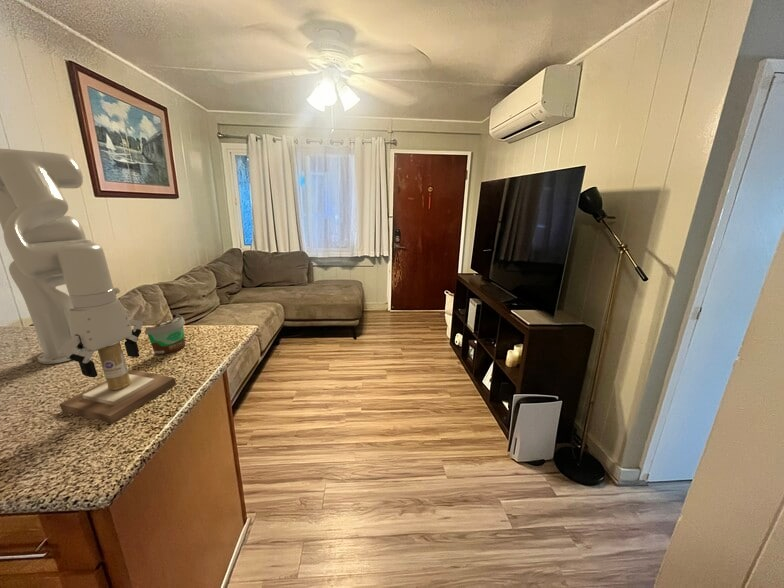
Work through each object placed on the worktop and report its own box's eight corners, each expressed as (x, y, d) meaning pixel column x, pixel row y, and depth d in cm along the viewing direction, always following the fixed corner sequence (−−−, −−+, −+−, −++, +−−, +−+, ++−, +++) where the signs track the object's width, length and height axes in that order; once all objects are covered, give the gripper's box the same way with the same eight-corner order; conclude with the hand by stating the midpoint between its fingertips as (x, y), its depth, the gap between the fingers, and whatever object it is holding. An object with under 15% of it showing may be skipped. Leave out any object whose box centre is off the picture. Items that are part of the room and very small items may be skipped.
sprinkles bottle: (106, 393, 78) (91, 341, 74) (110, 384, 81) (95, 334, 77) (130, 387, 80) (116, 337, 76) (133, 378, 84) (119, 330, 80)
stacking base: (62, 411, 76) (58, 400, 75) (131, 375, 91) (128, 366, 90) (112, 423, 72) (108, 412, 71) (176, 384, 86) (173, 374, 86)
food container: (167, 359, 99) (160, 329, 96) (151, 357, 101) (143, 327, 98) (198, 342, 111) (192, 314, 108) (183, 340, 112) (177, 313, 109)
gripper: (121, 287, 82) (137, 348, 87) (34, 310, 66) (59, 382, 72) (144, 289, 80) (158, 351, 86) (59, 313, 65) (84, 387, 70)
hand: (113, 365), depth 79 cm, fingers open, 9 cm apart
